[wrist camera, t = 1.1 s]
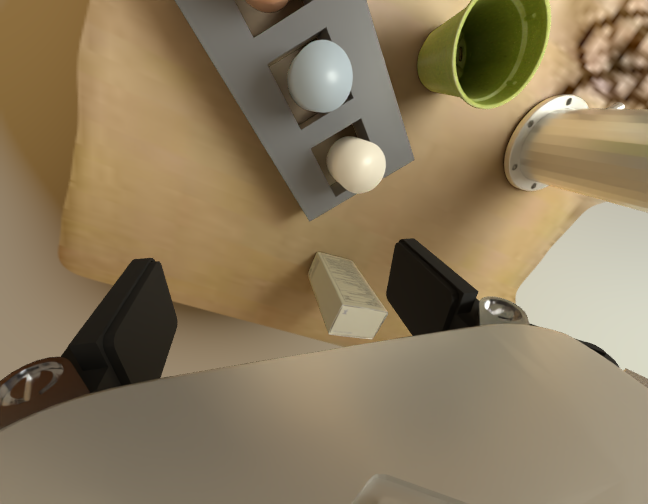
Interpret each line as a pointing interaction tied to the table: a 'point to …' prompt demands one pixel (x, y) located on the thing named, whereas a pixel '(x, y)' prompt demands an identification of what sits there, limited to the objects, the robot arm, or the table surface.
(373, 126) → the grey egg holder
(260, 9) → the light brown oval
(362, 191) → the cream white egg
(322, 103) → the pale blue egg
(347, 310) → the skincare box
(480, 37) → the plant pot
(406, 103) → the table surface
